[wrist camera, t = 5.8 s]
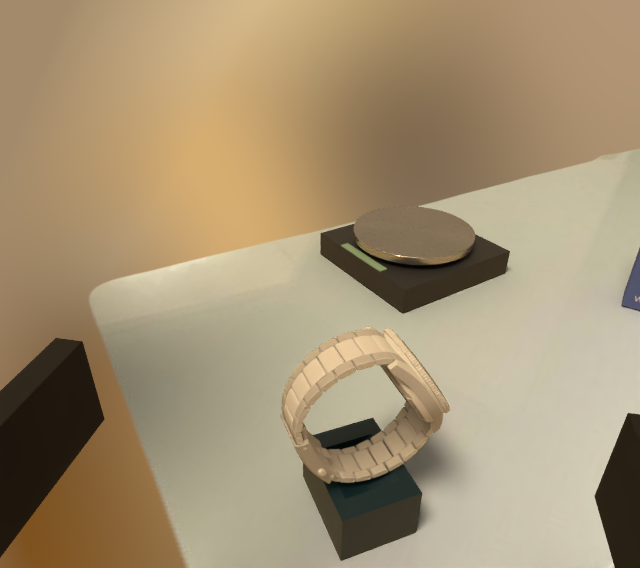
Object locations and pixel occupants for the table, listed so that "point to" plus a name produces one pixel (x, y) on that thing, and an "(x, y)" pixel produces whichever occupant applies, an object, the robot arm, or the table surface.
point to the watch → (363, 441)
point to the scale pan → (414, 235)
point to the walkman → (633, 287)
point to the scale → (412, 270)
